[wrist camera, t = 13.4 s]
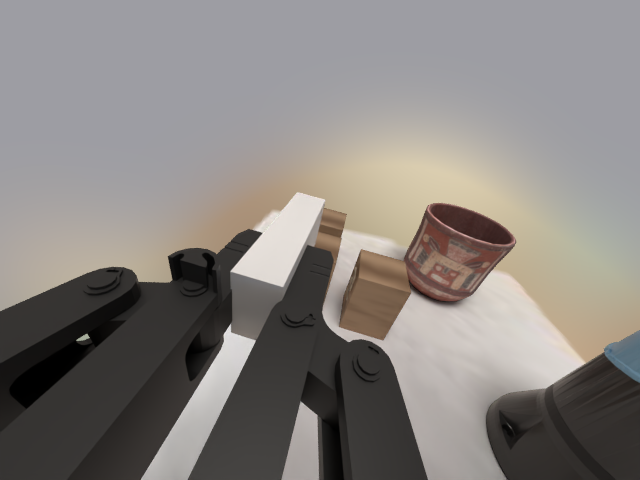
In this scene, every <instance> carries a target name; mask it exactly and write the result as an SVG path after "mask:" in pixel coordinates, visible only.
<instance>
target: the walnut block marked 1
mask: <svg viewBox="0 0 640 480" xmlns="http://www.w3.org/2000/svg"><path fill="white" fill-rule="evenodd" d="M346 215H347V214H344V213H341V212H337V211H334V210H330V209H326V208H324V209H323V213H322V217H321V222H320V226H319V230H318V232H321V233H325V234H328V235H332V236H335V237H339V238H341V235H342V232H343V228H344V224H345V219H346Z"/></svg>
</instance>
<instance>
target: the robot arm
mask: <svg viewBox="0 0 640 480" xmlns="http://www.w3.org/2000/svg"><path fill="white" fill-rule="evenodd" d="M324 204H325V200H324V199H320V198H317V197H313V196H309V195H306V194H302V193H298V192H297V194H296V195H295V196H294V197H293V198H292V199H291V201H290V202H289V203H288V204H287V205H286V206H285V208H284V209H283V210H282V211H281V212H280V213H279V215H278V216H277V217H276V218H275V219H274V221H273V222H272V223H271V224H270V225H269V226H268V228H267V229H266V230H265V231H264V232H263V233H261V232H257V231H254V230H250V229H248V230H246V231H244V232H241V233H239V234H238V235H236V236H235V237H234V238H233V239H232V240H231V242H229V243H228V244H227V245H226V246H225V248H223V249H222V250H221V251H220V252H219V253H218V254H216V253H214V252H212V251H210V250H208V249H201V248H190V249H184V250H181V251H177V252H175V253H173V254H171V255H170V256H168V259H169V264H170V269H171V274H172V279H173V280H172V281H171V282H170V283H155V282H153V283H152V282H138V279H137V276H136V275H135V273H134V272H133V271H132V270H130V269H126V268H124V267H109V268H103V269H98V270H96V271H92V272H90V273H87V274H85V275H82V276H80V277H77V278H75V279H73V280H71V281H68V282H66V283H64V284H62V285H59V286H57V287H55V288H52V289H50V290H48V291H46V292H43V293H41V294H39V295H37V296H34V297H32V298H30V299H27V300H25V301H23V302H20V303H18V304H16V305H14V306H12V307H9V308H7V309H5V310H2V311H0V480H141V478H142V476H143V475H144V473H145V472H146V470H147V468H148V467H149V465H150V463H151V462H152V460H153V459H154V457H155V455H156V454H157V452H158V450H159V449H160V447H161V446H162V444H163V442H164V441H165V439H166V437H167V436H168V434H169V433H170V431H171V429H172V428H173V426H174V424H175V423H176V421H177V420H178V418H179V416H180V415H181V413H182V411H183V410H184V408H185V406H186V405H187V403H188V402H189V400H190V398H191V397H192V395H193V393H194V392H195V390H196V389H197V387H198V385H199V384H200V382H201V380H202V379H203V377H204V376H205V374H206V372H207V371H208V369H209V367H210V366H211V364H212V363H213V361H214V359H215V358H216V356H217V354H218V353H219V351H220V350H221V347H222V345H223V342H224V337H223V335H224V333H225V331H226V330H227V328H228V327H229V325H230V324H231V333H235V334H238V335H241V336H244V337H247V338H250V339H254V340H256V342H255V344H254V346H253V348H252V350H251V352H250V354H249V356H248V358H247V361H246V363H245V365H244V367H243V369H242V371H241V373H240V375H239V377H238V379H237V381H236V383H235V385H234V387H233V389H232V391H231V393H230V395H229V397H228V399H227V401H226V403H225V405H224V407H223V409H222V411H221V413H220V415H219V417H218V419H217V421H216V423H215V425H214V427H213V429H212V431H211V433H210V436H209V438H208V440H207V442H206V444H205V446H204V448H203V450H202V452H201V454H200V456H199V458H198V460H197V462H196V464H195V466H194V468H193V470H192V472H191V474H190V476H189V478H188V480H281V478H282V474H283V470H284V466H285V462H286V458H287V454H288V450H289V446H290V441H291V437H292V433H293V429H294V425H295V421H296V417H297V413H298V409H299V405H300V401H301V402H302V403H304V404H305V405H306V406H307V407H308V408H310V409H311V410H312V411H313V412H314V413H316V414H317V415H318V450H319V480H428V479H427V475H426V472H425V469H424V466H423V462H422V459H421V456H420V452H419V449H418V446H417V442H416V439H415V436H414V432H413V429H412V426H411V423H410V419H409V416H408V413H407V409H406V406H405V403H404V399H403V396H402V393H401V390H400V386H399V383H398V380H397V376H396V373H395V370H394V367H393V365H392V363H391V360H390V358H389V356H388V355H387V354H386V353H385V352H384V351H383V350H382V349H381V348H380V347H379V346H377V345H376V344H374V343H372V342H370V341H366V340H362V339H360V340H352V341H351V342H347V341H346V340H344V339H343V338H341V337H340V336H338V335H337V334H335V333H334V332H333V331H332V330H331V329H330V328H329V327H328V326H327V325H326V323H325V321H324V319H323V315H322V307H323V303H324V299H325V295H326V291H327V287H328V282H329V278H330V274H331V270H332V266H333V262H334V259H333V256H332V253H331V251H327V250H324V249H320V248H317V247H314V246H315V243H316V239H317V235H318V230H319V226H320V222H321V217H322V213H323V209H324ZM85 334H88V336H89V337H90V338H89V339H86V340H83V341H76V340H77V339H78V338H80V337H82V336H83V335H85ZM604 351H605V352H604V353H602V354H600V355H599V356H597V357H595V358H594V359H592V360H591V361H589V362H587V363H586V364H584V365H582V366H581V367H579V368H578V369H576V370H574V371H573V372H571V373H570V374H568V375H566V376H565V377H563V378H562V379H560V380H558V381H557V382H556V383H554V384H552V385H551V386H549V387H548V388H546V389H538V390H529V391H521V392H513V393H508V394H506V395H504V396H502V397H500V398H499V399H498V400H496V401H495V402H494V403H493V404H492V405H491V406H490V408H489V410H488V414H487V429H488V435H489V439H490V442H491V445H492V448H493V451H494V453H495V455H496V458H497V460H498V462H499V464H500V466H501V468H502V470H503V471H504V473H505V475H506V477H507V478H508V480H640V330H639V331H637V332H635V333H634V334H632V335H630V336H628V337H626V338H625V339H623V340H621V341H619V342H614V343H611V344H609V345H607V346H606V347H605V348H604Z"/></svg>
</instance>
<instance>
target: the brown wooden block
mask: <svg viewBox="0 0 640 480" xmlns="http://www.w3.org/2000/svg"><path fill="white" fill-rule="evenodd" d="M341 239H342V238H339V237H335V236H332V235H328V234H325V233H321V232H318V235H317V239H316V243H315V246H314V247H317V248H320V249H324V250H327V251H331V253H332V256H333V259H334V262H333V266H332V270H331V274H330V278H329V282H328V287H327V291H328V288H329V284H330V281H331V278H332V275H333V271H334V268H335V265H336V261H337V257H338V252H339V248H340V243H341ZM327 291H326V294H327ZM325 297H326V295H325ZM324 301H325V299H324ZM323 304H324V303H323Z"/></svg>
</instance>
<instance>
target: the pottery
mask: <svg viewBox="0 0 640 480" xmlns="http://www.w3.org/2000/svg"><path fill="white" fill-rule="evenodd" d="M515 244H516V240H515V238H514V236H513V235H512V234H511V233H510V232H509V231H508V230H507V229H506V228H505V227H503V226H502V225H501V224H499V223H497V222H496V221H494V220H492V219H490V218H488V217H486V216H484V215H482V214H479V213H477V212H474V211H472V210H468V209H466V208H463V207H459V206H455V205H451V204H444V203H433V204H430V205H428V207H427V209H426V211H425V213H424V216H423V219H422V222H421V225H420V227H419V229H418V231H417V233H416V235H415V237H414V239H413V241H412V242H411V244H410V246H409V248H408V250H407V253H406V255H405V258H404V262H405V265H406V270H407V275H408V279H409V281H410V282H411V284H412V285H413V286H414V287H415V288H416V289H417V290H418V291H420V292H421V293H422V294H424V295H426V296H428V297H430V298H432V299H436V300H439V301H458V300H461V299H464V298H466V297H469V296H471V295H472V294H473V293H474V292H475V291H476V290H477V288H478V287H479V286H480V285H481V283H482V282H483V281H484V279H485V278H486V277H487V275H488V274H489V273H490V272H491V271H492V270H493V269H494V267H495V266H496V265H497V264H498V263H499V262H500V261H501V260H502V259H503V258H504V257H505V256H506V255H507V254H508V253H509V252H510V251H511V249H512V248H513V247H514V246H515Z"/></svg>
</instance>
